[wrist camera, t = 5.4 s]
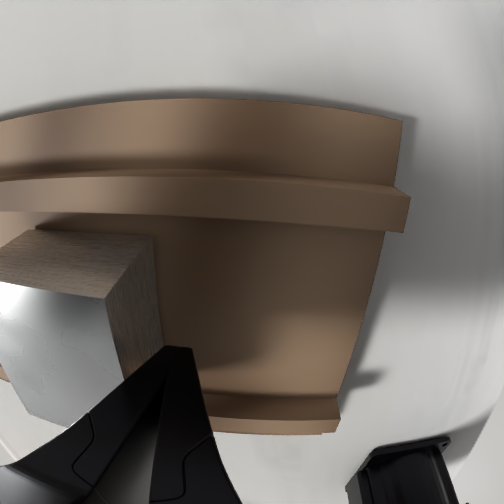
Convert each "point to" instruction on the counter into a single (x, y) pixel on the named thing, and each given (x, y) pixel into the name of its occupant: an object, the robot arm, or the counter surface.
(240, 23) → the counter surface
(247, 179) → the track
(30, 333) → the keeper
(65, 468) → the robot arm
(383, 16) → the counter surface
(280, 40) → the counter surface
